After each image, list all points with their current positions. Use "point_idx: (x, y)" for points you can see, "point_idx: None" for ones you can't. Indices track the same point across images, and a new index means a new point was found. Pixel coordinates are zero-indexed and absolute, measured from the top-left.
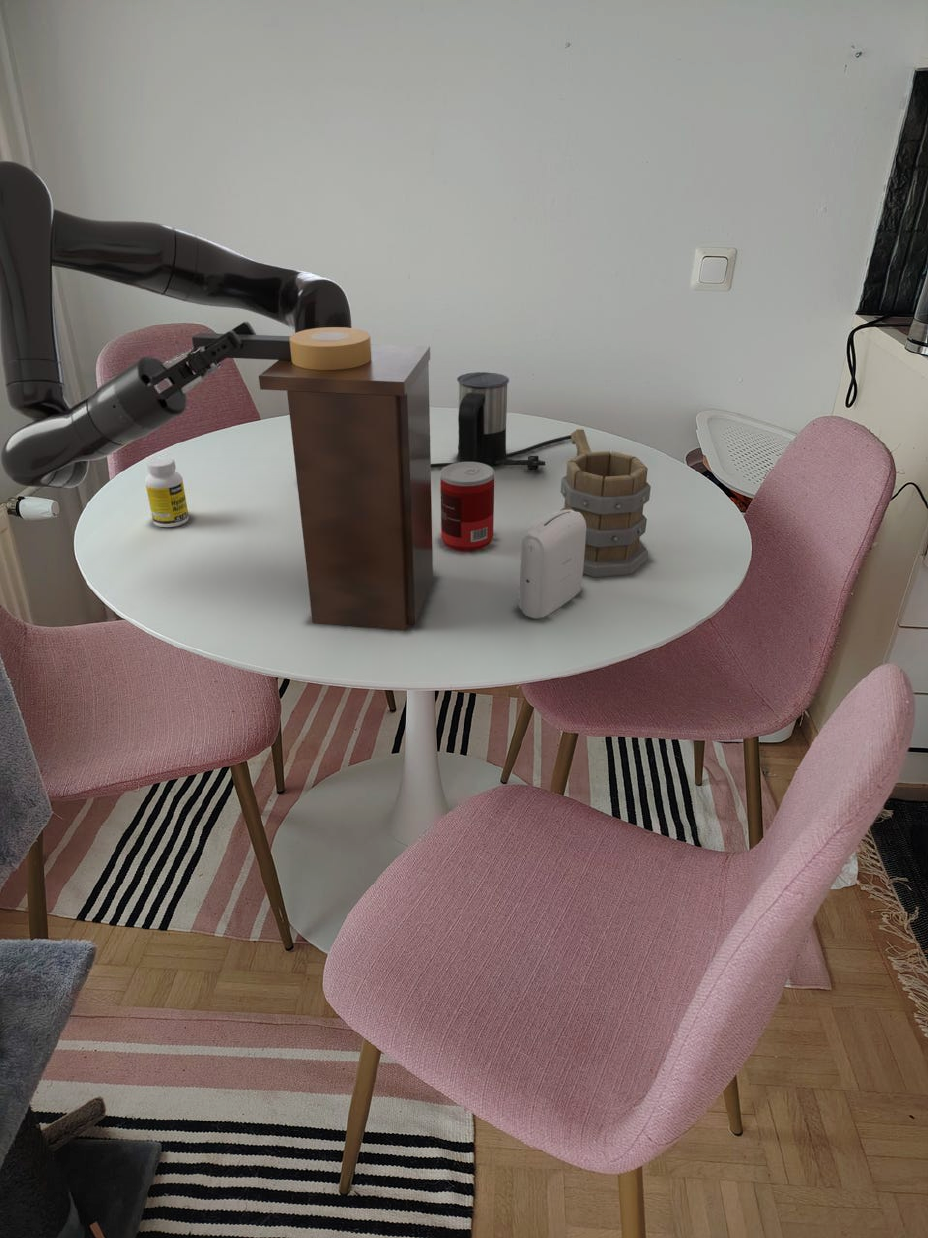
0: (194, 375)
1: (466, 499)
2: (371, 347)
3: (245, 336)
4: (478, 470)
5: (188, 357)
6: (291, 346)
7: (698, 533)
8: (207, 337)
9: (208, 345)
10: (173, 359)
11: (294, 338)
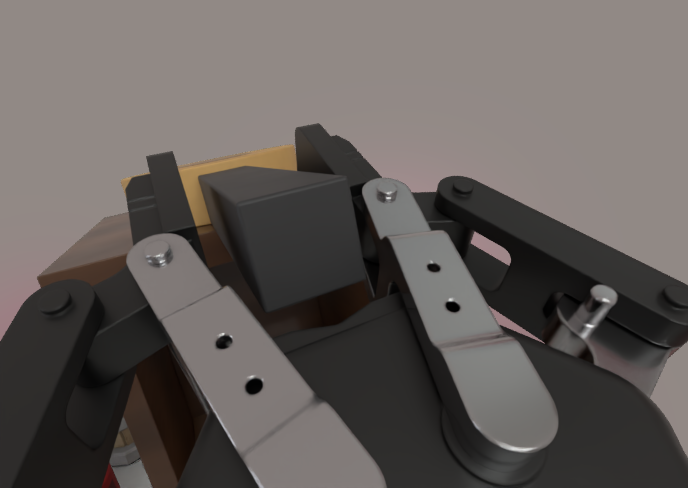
0: (478, 251)
1: (113, 474)
2: (113, 227)
3: (239, 176)
4: None
5: (478, 187)
6: (275, 163)
7: None
8: (312, 173)
9: (364, 176)
10: (459, 343)
11: (251, 154)
